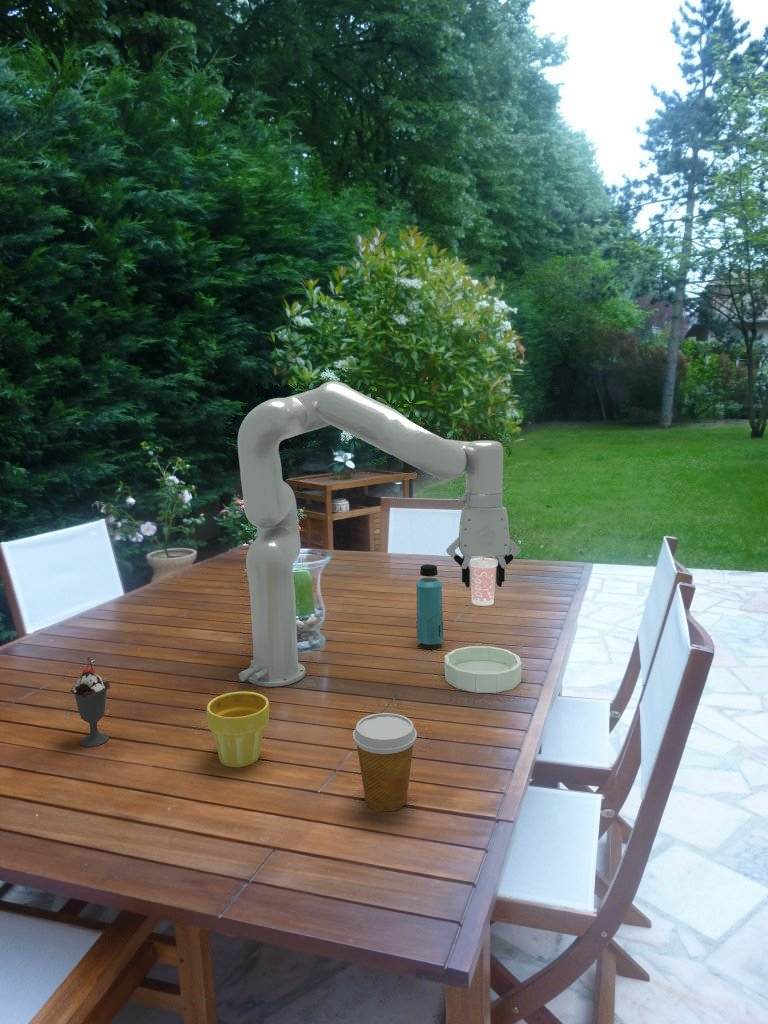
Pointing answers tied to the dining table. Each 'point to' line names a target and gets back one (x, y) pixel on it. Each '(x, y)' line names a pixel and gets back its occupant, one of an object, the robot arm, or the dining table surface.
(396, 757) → the disposable coffee cup
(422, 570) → the beverage bottle
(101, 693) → the sundae
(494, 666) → the bowl
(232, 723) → the plant pot
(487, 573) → the beverage cup
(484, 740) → the dining table surface
